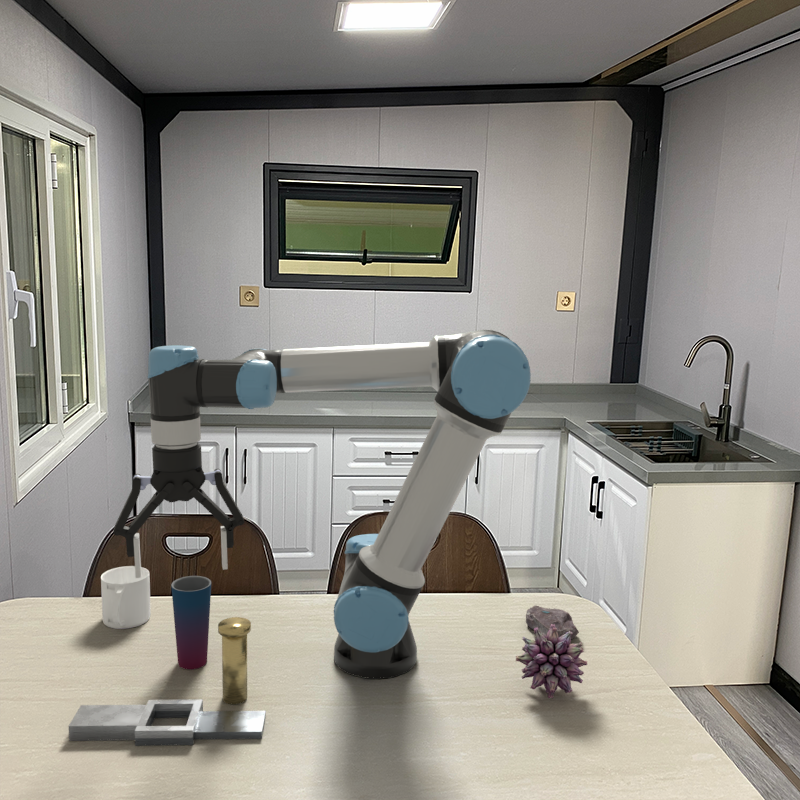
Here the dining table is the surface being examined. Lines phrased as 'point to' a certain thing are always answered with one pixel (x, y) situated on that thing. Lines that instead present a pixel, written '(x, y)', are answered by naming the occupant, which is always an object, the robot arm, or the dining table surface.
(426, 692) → the dining table surface
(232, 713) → the grey metal base plate
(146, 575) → the mug
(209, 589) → the cup
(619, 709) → the dining table surface
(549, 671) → the flower
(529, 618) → the rock
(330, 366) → the robot arm
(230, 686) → the pin
